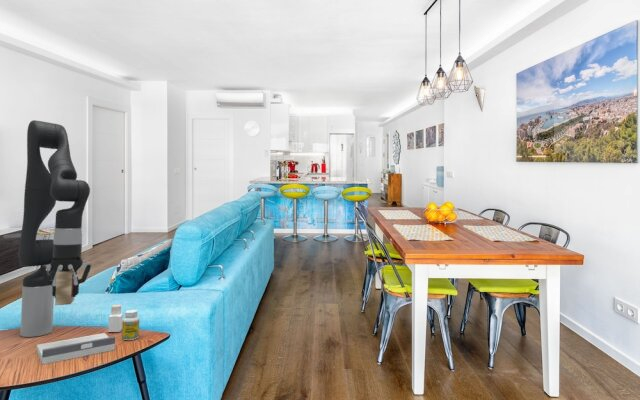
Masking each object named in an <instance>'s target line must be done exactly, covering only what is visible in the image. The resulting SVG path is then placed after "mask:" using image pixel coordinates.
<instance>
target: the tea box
mask: <svg viewBox="0 0 640 400" xmlns="http://www.w3.org/2000/svg"><path fill="white" fill-rule="evenodd" d="M73 285H74V283H73V271H61V272H57V276H56V297H55V296H54V305H55V306H65V305H67V306H68V305H71V304H73V302H74V301H75V297H73Z"/></svg>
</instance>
